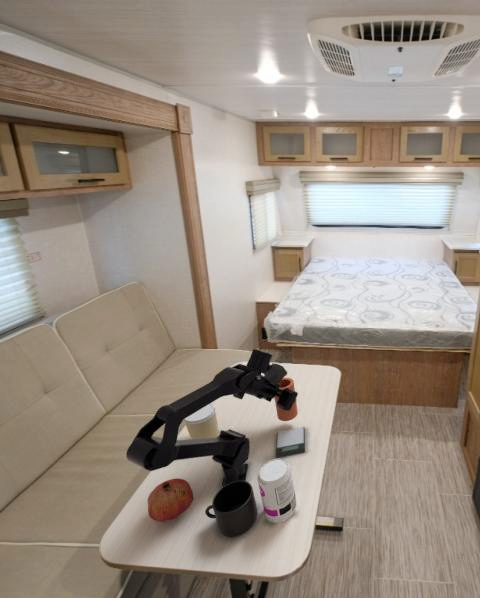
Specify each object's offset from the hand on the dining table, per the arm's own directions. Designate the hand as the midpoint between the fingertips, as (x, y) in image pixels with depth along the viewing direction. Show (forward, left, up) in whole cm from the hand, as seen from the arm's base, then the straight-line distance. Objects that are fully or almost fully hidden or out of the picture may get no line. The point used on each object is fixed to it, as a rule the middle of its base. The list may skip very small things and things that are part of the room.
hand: (288, 396), depth 118 cm
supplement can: (-32, +2, -13) cm, 35 cm away
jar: (-1, +1, -7) cm, 7 cm away
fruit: (-25, +30, -13) cm, 42 cm away
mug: (-32, +14, -13) cm, 38 cm away
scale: (-8, 0, -13) cm, 15 cm away
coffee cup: (+1, +28, -13) cm, 31 cm away
